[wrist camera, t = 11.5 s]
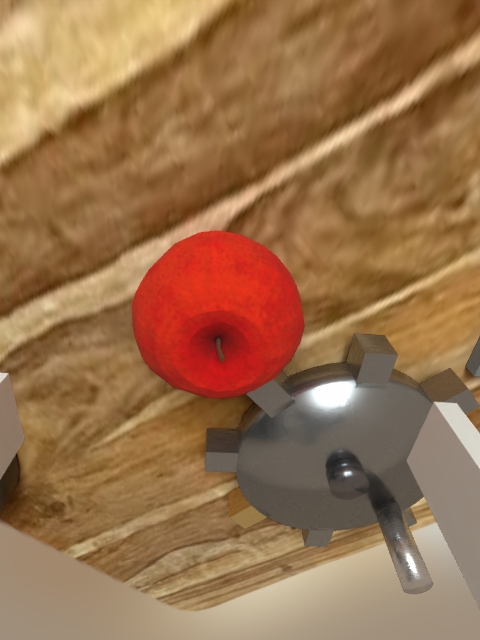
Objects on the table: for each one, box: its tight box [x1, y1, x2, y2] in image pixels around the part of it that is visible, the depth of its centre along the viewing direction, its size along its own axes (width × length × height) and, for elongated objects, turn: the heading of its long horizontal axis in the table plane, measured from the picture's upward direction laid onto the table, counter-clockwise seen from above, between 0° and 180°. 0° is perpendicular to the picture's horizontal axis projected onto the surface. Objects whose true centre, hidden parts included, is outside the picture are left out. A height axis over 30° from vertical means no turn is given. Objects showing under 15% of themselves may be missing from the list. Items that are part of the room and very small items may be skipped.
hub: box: [326, 458, 369, 500], centre depth 25 cm, size 6×6×4 cm
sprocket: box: [205, 333, 480, 594], centre depth 24 cm, size 18×18×7 cm
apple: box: [132, 231, 305, 399], centre depth 18 cm, size 8×8×7 cm
